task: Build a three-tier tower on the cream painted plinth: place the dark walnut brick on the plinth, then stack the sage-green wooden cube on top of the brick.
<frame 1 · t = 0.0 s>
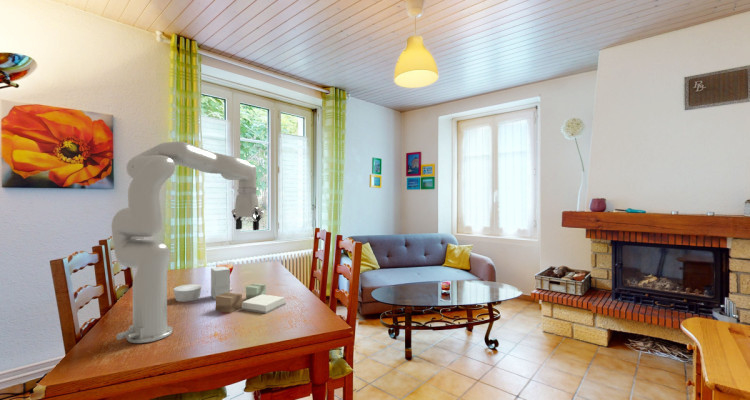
hand: (247, 229, 155), 31 cm above the table, fingers open, 9 cm apart
plinth: (263, 306, 143), on the table
small box: (220, 297, 157), on the table
walnut brick: (228, 309, 140), on the table
ramekin: (187, 299, 154), on the table
sage cube: (255, 298, 155), on the table
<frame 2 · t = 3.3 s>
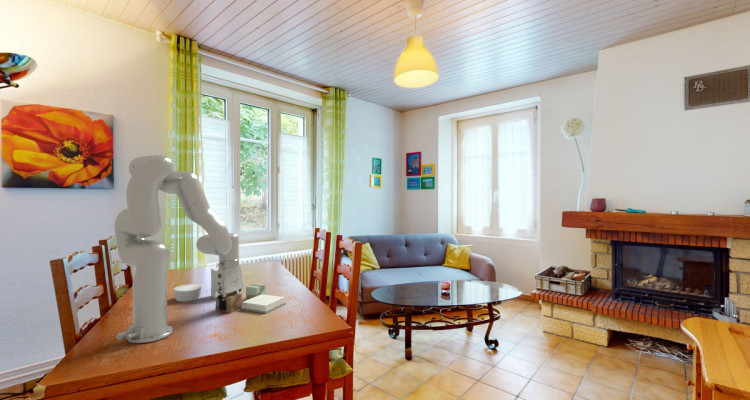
hand: (229, 307, 140), 1 cm above the table, fingers closed on walnut brick, 6 cm apart
walnut brick: (228, 309, 140), on the table, touching gripper
everything else where it was.
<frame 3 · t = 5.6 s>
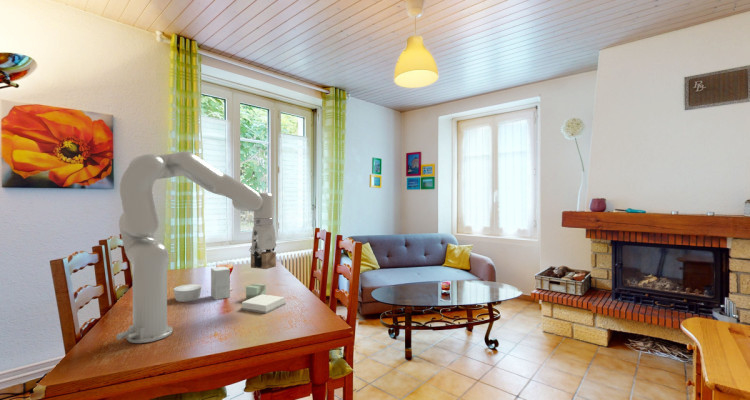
hand: (263, 264, 143), 18 cm above the table, fingers closed on walnut brick, 6 cm apart
walnut brick: (263, 267, 143), point 17 cm above the table, touching gripper
everything else where it was.
when the fingers open (5 cm above the table, at t = 8.4 s): walnut brick stays where it is, resting on plinth.
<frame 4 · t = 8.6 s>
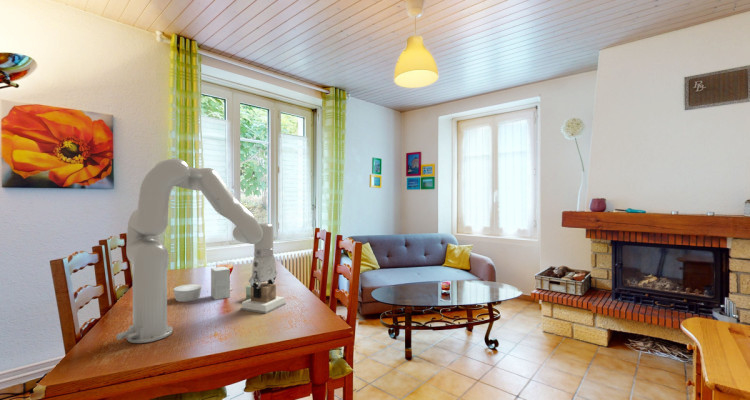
hand: (263, 294, 143), 5 cm above the table, fingers open, 7 cm apart
walnut brick: (263, 299, 143), point 3 cm above the table, touching plinth
everything else where it was.
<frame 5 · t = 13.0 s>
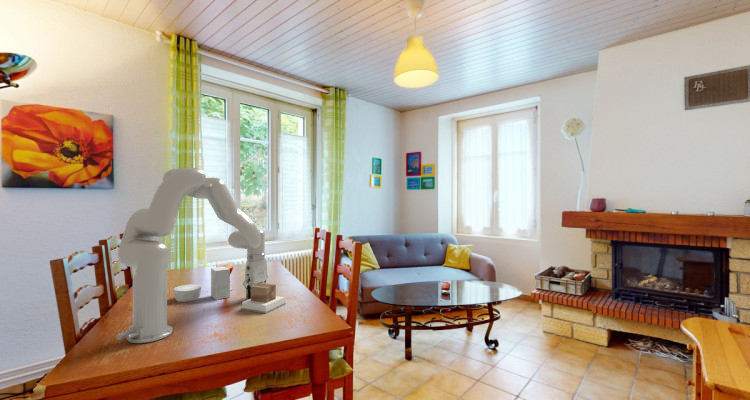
hand: (255, 296, 155), 1 cm above the table, fingers closed on sage cube, 6 cm apart
sage cube: (255, 298, 155), on the table, touching gripper
everything else where it was.
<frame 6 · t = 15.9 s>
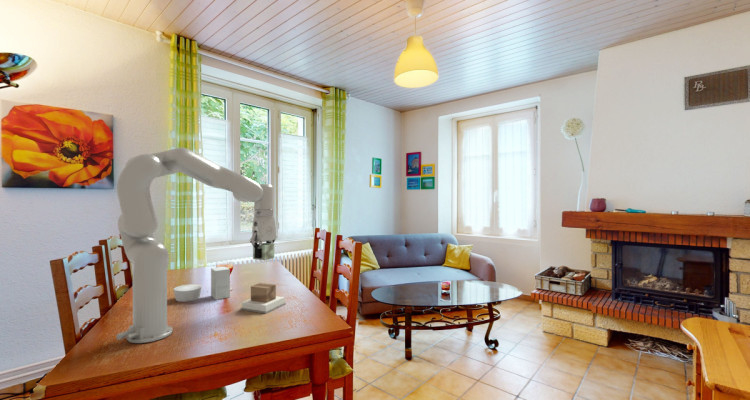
hand: (263, 256, 143), 21 cm above the table, fingers closed on sage cube, 6 cm apart
sage cube: (263, 258, 143), point 20 cm above the table, touching gripper
everything else where it was.
when the fingers open (11 cm above the table, at t = 18.6 s): sage cube stays where it is, resting on walnut brick.
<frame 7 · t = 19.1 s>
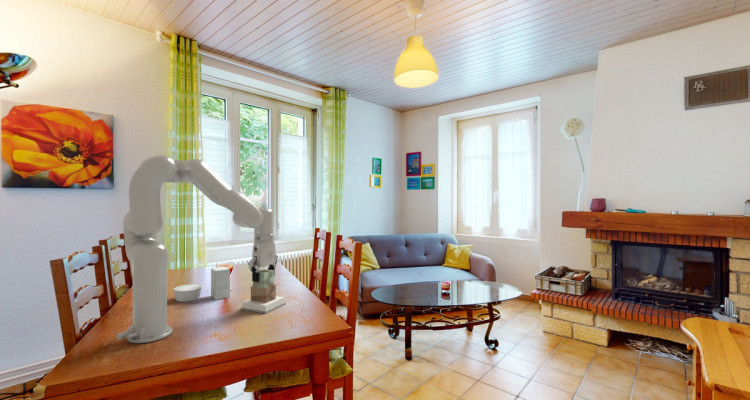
hand: (263, 278, 143), 12 cm above the table, fingers open, 9 cm apart
walnut brick: (263, 299, 143), point 3 cm above the table, touching plinth, sage cube
sage cube: (263, 285, 143), point 9 cm above the table, touching walnut brick
everything else where it was.
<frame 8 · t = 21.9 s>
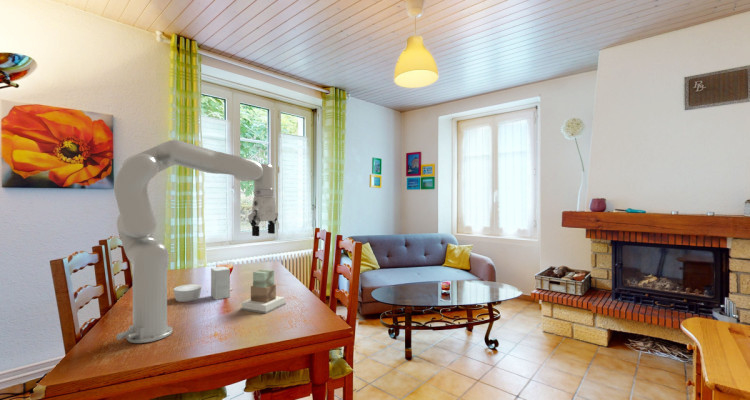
hand: (263, 234, 143), 30 cm above the table, fingers open, 9 cm apart
nothing on the table moved.
at the end: walnut brick inside the target area on the plinth (0.1 cm from its centre), point 3.0 cm above the plinth's base; sage cube inside the target area on the walnut brick (0.1 cm from its centre), point 6.0 cm above the walnut brick's base; sage cube tilted 0° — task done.
